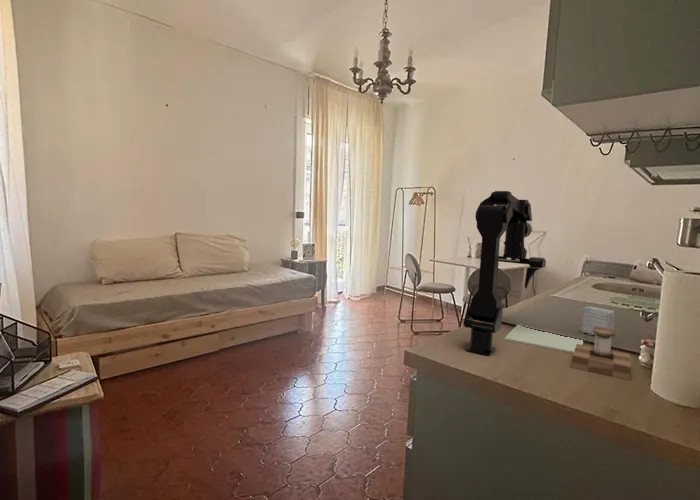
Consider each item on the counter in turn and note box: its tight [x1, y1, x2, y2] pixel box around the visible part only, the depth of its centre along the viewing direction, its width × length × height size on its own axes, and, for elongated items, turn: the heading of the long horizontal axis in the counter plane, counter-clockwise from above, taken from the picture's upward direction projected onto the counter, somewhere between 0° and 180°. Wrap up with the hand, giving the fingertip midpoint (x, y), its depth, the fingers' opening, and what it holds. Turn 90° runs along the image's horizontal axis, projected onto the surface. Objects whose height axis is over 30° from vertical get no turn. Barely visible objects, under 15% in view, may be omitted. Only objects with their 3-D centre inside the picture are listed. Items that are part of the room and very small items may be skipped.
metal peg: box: [593, 327, 616, 359], centre depth 103 cm, size 5×5×10 cm
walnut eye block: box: [571, 344, 632, 381], centre depth 103 cm, size 12×12×3 cm
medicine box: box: [580, 305, 616, 334], centre depth 131 cm, size 8×4×9 cm, turn 35°
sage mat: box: [503, 324, 584, 354], centre depth 126 cm, size 20×20×1 cm
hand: (510, 286), depth 133 cm, fingers open, 9 cm apart
